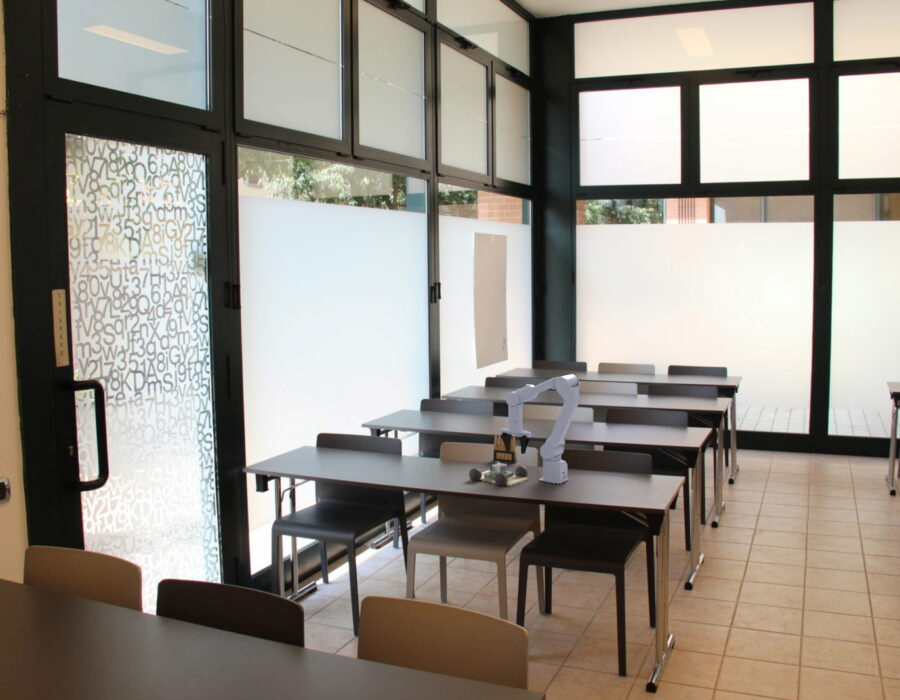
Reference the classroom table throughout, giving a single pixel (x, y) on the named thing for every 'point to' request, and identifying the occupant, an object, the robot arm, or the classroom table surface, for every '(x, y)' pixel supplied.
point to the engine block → (499, 468)
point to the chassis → (500, 476)
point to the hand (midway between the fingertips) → (515, 452)
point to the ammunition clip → (504, 451)
